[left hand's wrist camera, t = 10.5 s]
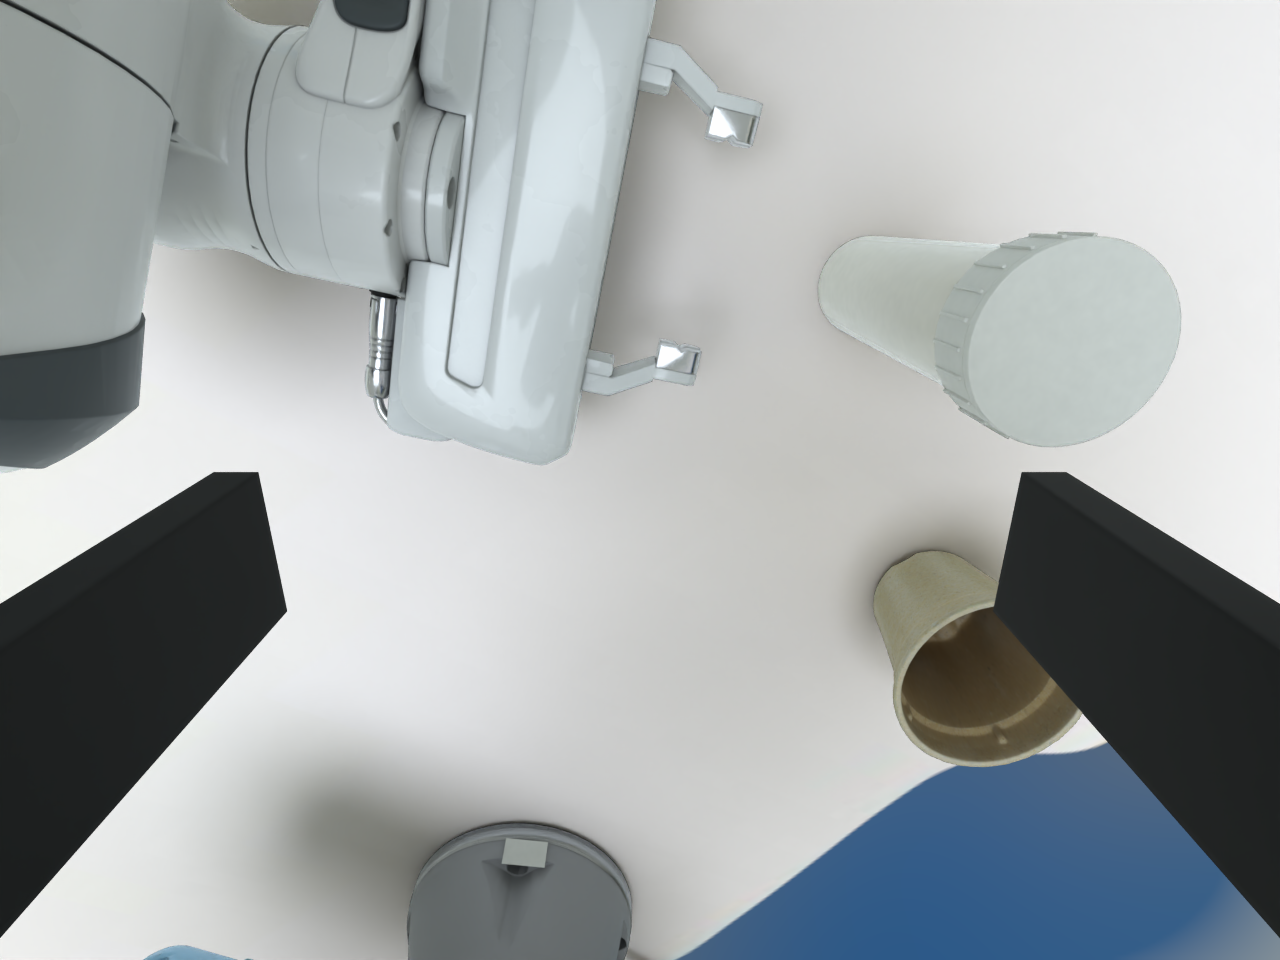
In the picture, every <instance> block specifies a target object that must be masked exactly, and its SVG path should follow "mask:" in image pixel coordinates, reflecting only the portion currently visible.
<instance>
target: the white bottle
mask: <svg viewBox="0 0 1280 960" xmlns="http://www.w3.org/2000/svg"><path fill="white" fill-rule="evenodd" d="M999 247H1000V244H986V243H972V242H957V241H943V240H929V239H915V238H900V237H886V236H863V237H859V238H856V239H853V240H850V241H849V242H847V243H845V244H843V245H842V246H841V247H839V248H838V249H837V250H836V251H835V252H834V253H833V254H832V255H831V256H830V258H829V259H828V261H827V262H826V264H825V266H824V267H823V270H822V272H821V275H820V279H819V284H818V298H819V303H820V307H821V309H822V312H823V313H824V315H825V317H826V318H827V319H828V321H829V322H830V323H831V324H832V325H833V326H834V327H836V328H837V329H839V330H841V331H843V332H844V333H846V334H848V335H850V336H852V337H854V338H855V339H857V340H859V341H861V342H863V343H865V344H866V345H868V346H870V347H872V348H874V349H876V350H878V351H879V352H881V353H883V354H885V355H887V356H889V357H890V358H892V359H894V360H896V361H898V362H900V363H902V364H903V365H905V366H907V367H909V368H911V369H913V370H914V371H916V372H918V373H920V374H922V375H924V376H925V377H927V378H929V379H931V380H933V381H935V382H937V383H938V384H940V385H942V386H943V384H942V382H941V380H940V377H939V375H938V371H937V370H936V369H935V365H936V362H935V351H934V347H935V343H934V342H933V339H935V335H936V329H937V324H938V321H939V318H940V314H939V313H940V311H942V309H943V307H944V305H945V303H946V300H947V299H948V297H949V295H950V294H951V292H952V290H953V288H954V287H953V286H954V285H955V284H957V283H958V282H959V281H960V279H961V278H962V277H963V276H964V275H965V274H966V272H967V271H968V270H969V269H970V268H971V267H972V266H973V265H975V264H974V262H975V261H979V260H981V259H982V258H983V257H985V256H986V255H988V254H989V253H991V252H992V251H993V250H995V249H997V248H999Z"/></svg>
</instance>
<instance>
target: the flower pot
mask: <svg viewBox="0 0 1280 960" xmlns="http://www.w3.org/2000/svg"><path fill="white" fill-rule="evenodd" d="M998 584H999V583H998V582H997V581H995V580H994V579H992V578H991V577H989V576H988V575H986V574H985V573H983V572H982V571H980V570H979V569H977V568H976V567H974V566H973V565H971V564H970V563H968V562H967V561H966V560H964V559H962V558H961V557H959V556H956V555H954V554H951V553H947V552H942V551H927V552H920V553H916V554H914V555H913V556H912V557H910V558H908V559H907V560H905V561H903V562H901V563H899V564H897V565H894V566H892V567H891V568H890V569H889V570H888V571H887V572H886V573H885V575H884V576H883V577H882V579H881V580H880V582H879V584H878V586H877V588H876V591H875V595H874V601H873V609H874V615H875V618H876V621H877V624H878V626H879V628H880V631H881V634H882V636H883V639H884V642H885V645H886V648H887V651H888V654H889V657H890V661H891V664H892V667H893V670H894V687H893V703H894V709H895V712H896V716H897V718H898V721H899V723H900V725H901V727H902V729H903V731H904V732H905V734H906V735H907V736H908V738H909V739H910V740H911V741H912V742H913V743H914V744H915V745H916V746H917V747H918V748H920V749H921V750H922V751H923V752H925V753H926V754H928V755H930V756H932V757H935V758H937V759H940V760H942V761H944V762H947V763H951V764H956V765H961V766H970V767H990V766H997V765H1005V764H1009V763H1012V762H1015V761H1019V760H1021V759H1025V758H1028V757H1030V756H1032V755H1034V754H1036V753H1038V752H1040V751H1042V750H1044V749H1045V748H1047V747H1048V746H1050V745H1051V744H1053V743H1054V742H1056V741H1058V740H1059V739H1060V738H1061V737H1063V735H1064V734H1066V733H1067V732H1068V731H1069V730H1070V729H1071V728H1072V727H1073V726H1074V725H1075V724H1076V722H1077V721H1078V720H1079V718H1080V717H1081V715H1082V712H1081V711H1080V710H1079V709H1078V708H1077V706H1076V705H1075V704H1074V703H1073V702H1072V701H1071V700H1070V698H1069V697H1068V696H1067V695H1066V694H1065V693H1064V692H1063V690H1062V689H1061V688H1060V687H1059V686H1058V685H1057V684H1056V683H1055V681H1054V680H1053V679H1052V678H1051V677H1050V676H1049V675H1048V673H1047V672H1046V671H1045V670H1044V669H1043V668H1042V667H1041V665H1040V664H1039V663H1038V662H1037V661H1036V660H1035V659H1034V657H1033V656H1032V655H1031V654H1030V653H1029V652H1028V651H1027V649H1026V648H1025V647H1024V646H1023V645H1022V644H1021V643H1020V642H1019V640H1018V639H1017V638H1016V637H1015V636H1014V635H1013V634H1012V632H1011V631H1010V630H1009V629H1008V628H1007V627H1006V626H1005V624H1004V623H1003V622H1002V621H1001V620H1000V619H999V618H998V616H997V615H996V614H995V613H994V612H993V608H994V603H995V598H996V594H997V589H998Z"/></svg>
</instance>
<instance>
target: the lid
mask: <svg viewBox="0 0 1280 960" xmlns="http://www.w3.org/2000/svg"><path fill="white" fill-rule="evenodd" d="M1097 234H1098V233H1084V232H1058V234H1038V233H1031V234H1029V237H1025V238H1021V239H1018V240H1015V241H1012V242H1010V243H1002V244H1000V247H999V248H997V249H995V250H993V251H992V252H991V253H989V254H988V255H986V256H985V257H983V258H982V259H981V260H979V261H975V262H974V264H975V265H973V266H972V267H971V268H970V269H969V270H968V271H967V272H966V274H965V275H964V276H963V277H962V278H961V279H960V281H959V282H958V283H957V284H955V285H954V286H953V287H954V288H953V290H952V292H951V294H950V295H949V297H948V299H947V300H946V303H945V305H944V307H943V309H942V311H940V313H939V314H940V318H939V321H938V324H937V329H936V335H935V339H933V342H934V343H935V347H934V351H935V362H936V365H935V369H936V370H937V371H938V375H939V377H940V380H941V382H942V384H943V386H944V388H945V389H944V390H943V391H944V393H946V394H948V395H949V396H950V397H951V398H952V400H953V401H954V402H955V403H956V404H957V405H958V406H959V407H960V408H959V410H960V411H961V412H963V413H965V414H966V415H968V416H970V417H971V418H973V419H975V420H976V421H978V422H979V423H981V424H983V425H984V426H986V427H988V428H989V429H991V430H993V431H995V432H996V433H998V434H1000V435H1001V436H1003V437H1005V438H1007V439H1009V437H1010V438H1012V439H1014V440H1016V441H1019V442H1022V443H1025V444H1029V445H1034V446H1040V447H1062V446H1070V445H1075V444H1079V443H1083V442H1086V441H1089V440H1092V439H1095V438H1097V437H1099V436H1102V435H1104V434H1106V433H1108V432H1110V431H1111V430H1113V429H1115V428H1116V427H1118V426H1120V425H1121V424H1123V423H1124V422H1125V421H1127V420H1128V419H1129V418H1131V417H1132V416H1133V415H1134V414H1135V413H1136V412H1138V411H1139V410H1140V409H1141V408H1142V407H1143V406H1144V405H1145V404H1146V403H1147V401H1148V400H1149V399H1150V398H1151V397H1152V396H1153V394H1154V393H1155V392H1156V390H1157V389H1158V388H1159V386H1160V385H1161V383H1162V382H1163V380H1164V378H1165V376H1166V374H1167V373H1168V371H1169V369H1170V366H1171V364H1172V362H1173V359H1174V357H1175V353H1176V350H1177V347H1178V343H1179V337H1180V331H1181V310H1180V302H1179V298H1178V294H1177V290H1176V288H1175V286H1174V284H1173V281H1172V279H1171V277H1170V276H1169V274H1168V273H1167V271H1166V270H1165V268H1164V267H1163V266H1162V265H1161V264H1160V262H1159V261H1158V260H1157V259H1156V258H1155V257H1154V256H1152V255H1151V254H1150V253H1148V252H1147V251H1146V250H1144V249H1142V248H1141V247H1139V246H1137V245H1135V244H1133V243H1130V242H1127V241H1124V240H1121V239H1116V238H1111V237H1098V236H1097Z"/></svg>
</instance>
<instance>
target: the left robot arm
mask: <svg viewBox="0 0 1280 960" xmlns="http://www.w3.org/2000/svg"><path fill="white" fill-rule="evenodd" d="M286 612H287V608H286V603H285V598H284V594H283V589H282V584H281V579H280V574H279V570H278V565H277V560H276V555H275V550H274V545H273V541H272V536H271V531H270V526H269V521H268V517H267V512H266V507H265V502H264V497H263V493H262V488H261V483H260V478H259V473H258V472H213V473H212V474H210V475H208V476H207V477H205V478H204V479H202V480H200V481H199V482H197V483H195V484H194V485H192V486H191V487H189V488H187V489H186V490H184V491H182V492H181V493H179V494H178V495H176V496H174V497H173V498H171V499H169V500H168V501H166V502H165V503H163V504H161V505H160V506H158V507H157V508H155V509H153V510H152V511H150V512H148V513H147V514H145V515H144V516H142V517H140V518H139V519H137V520H135V521H134V522H132V523H131V524H129V525H127V526H126V527H124V528H122V529H121V530H119V531H118V532H116V533H114V534H113V535H111V536H109V537H108V538H106V539H105V540H103V541H101V542H100V543H98V544H97V545H95V546H93V547H92V548H90V549H88V550H87V551H85V552H84V553H82V554H80V555H79V556H77V557H75V558H74V559H72V560H71V561H69V562H67V563H66V564H64V565H62V566H61V567H59V568H58V569H56V570H54V571H53V572H51V573H49V574H48V575H46V576H45V577H43V578H41V579H40V580H38V581H37V582H35V583H33V584H32V585H30V586H28V587H27V588H25V589H24V590H22V591H20V592H19V593H17V594H15V595H14V596H12V597H11V598H9V599H7V600H6V601H4V602H2V603H1V604H0V938H1V936H2V935H3V934H4V933H5V932H6V931H7V930H8V928H9V927H10V926H11V925H12V924H13V923H14V922H15V921H16V919H17V918H18V917H19V916H20V915H21V914H22V913H23V911H24V910H25V909H26V908H27V907H28V906H29V905H30V903H31V902H32V901H33V900H34V899H35V898H36V897H37V895H38V894H39V893H40V892H41V891H42V890H43V889H44V887H45V886H46V885H47V884H48V883H49V882H50V881H51V880H52V878H53V877H54V876H55V875H56V874H57V873H58V872H59V870H60V869H61V868H62V867H63V866H64V865H65V864H66V862H67V861H68V860H69V859H70V858H71V857H72V856H73V854H74V853H75V852H76V851H77V850H78V849H79V848H80V846H81V845H82V844H83V843H84V842H85V841H86V840H87V839H88V837H89V836H90V835H91V834H92V833H93V832H94V831H95V829H96V828H97V827H98V826H99V825H100V824H101V823H102V821H103V820H104V819H105V818H106V817H107V816H108V815H109V813H110V812H111V811H112V810H113V809H114V808H115V807H116V806H117V804H118V803H119V802H120V801H121V800H122V799H123V798H124V796H125V795H126V794H127V793H128V792H129V791H130V790H131V788H132V787H133V786H134V785H135V784H136V783H137V782H138V780H139V779H140V778H141V777H142V776H143V775H144V774H145V772H146V771H147V770H148V769H149V768H150V767H151V766H152V765H153V763H154V762H155V761H156V760H157V759H158V758H159V757H160V755H161V754H162V753H163V752H164V751H165V750H166V749H167V747H168V746H169V745H170V744H171V743H172V742H173V741H174V739H175V738H176V737H177V736H178V735H179V734H180V733H181V731H182V730H183V729H184V728H185V727H186V726H187V725H188V724H189V722H190V721H191V720H192V719H193V718H194V717H195V716H196V714H197V713H198V712H199V711H200V710H201V709H202V708H203V706H204V705H205V704H206V703H207V702H208V701H209V700H210V698H211V697H212V696H213V695H214V694H215V693H216V692H217V690H218V689H219V688H220V687H221V686H222V685H223V684H224V683H225V681H226V680H227V679H228V678H229V677H230V676H231V675H232V673H233V672H234V671H235V670H236V669H237V668H238V667H239V665H240V664H241V663H242V662H243V661H244V660H245V659H246V657H247V656H248V655H249V654H250V653H251V652H252V651H253V649H254V648H255V647H256V646H257V645H258V644H259V643H260V642H261V640H262V639H263V638H264V637H265V636H266V635H267V634H268V632H269V631H270V630H271V629H272V628H273V627H274V626H275V624H276V623H277V622H278V621H279V620H280V619H281V618H282V616H283V615H284V614H285V613H286ZM993 612H994V613H995V614H996V615H997V616H998V618H999V619H1000V620H1001V621H1002V622H1003V623H1004V624H1005V626H1006V627H1007V628H1008V629H1009V630H1010V631H1011V632H1012V634H1013V635H1014V636H1015V637H1016V638H1017V639H1018V640H1019V642H1020V643H1021V644H1022V645H1023V646H1024V647H1025V648H1026V649H1027V651H1028V652H1029V653H1030V654H1031V655H1032V656H1033V657H1034V659H1035V660H1036V661H1037V662H1038V663H1039V664H1040V665H1041V667H1042V668H1043V669H1044V670H1045V671H1046V672H1047V673H1048V675H1049V676H1050V677H1051V678H1052V679H1053V680H1054V681H1055V683H1056V684H1057V685H1058V686H1059V687H1060V688H1061V689H1062V690H1063V692H1064V693H1065V694H1066V695H1067V696H1068V697H1069V698H1070V700H1071V701H1072V702H1073V703H1074V704H1075V705H1076V706H1077V708H1078V709H1079V710H1080V711H1081V712H1082V713H1083V714H1084V716H1085V717H1086V718H1087V719H1088V720H1089V721H1090V722H1091V724H1092V725H1093V726H1094V727H1095V728H1096V729H1097V730H1098V731H1099V733H1100V734H1101V735H1102V736H1103V737H1104V738H1105V739H1106V741H1107V742H1108V743H1109V744H1110V745H1111V746H1112V747H1113V749H1114V750H1115V751H1116V752H1117V753H1118V754H1119V755H1120V757H1121V758H1122V759H1123V760H1124V761H1125V762H1126V763H1127V765H1128V766H1129V767H1130V768H1131V769H1132V770H1133V771H1134V772H1135V774H1136V775H1137V776H1138V777H1139V778H1140V779H1141V780H1142V782H1143V783H1144V784H1145V785H1146V786H1147V787H1148V788H1149V790H1150V791H1151V792H1152V793H1153V794H1154V795H1155V796H1156V798H1157V799H1158V800H1159V801H1160V802H1161V803H1162V804H1163V806H1164V807H1165V808H1166V809H1167V810H1168V811H1169V812H1170V813H1171V815H1172V816H1173V817H1174V818H1175V819H1176V820H1177V821H1178V823H1179V824H1180V825H1181V826H1182V827H1183V828H1184V829H1185V831H1186V832H1187V833H1188V834H1189V835H1190V836H1191V837H1192V839H1193V840H1194V841H1195V842H1196V843H1197V844H1198V845H1199V846H1200V848H1201V849H1202V850H1203V851H1204V852H1205V853H1206V854H1207V856H1208V857H1209V858H1210V859H1211V860H1212V861H1213V862H1214V864H1215V865H1216V866H1217V867H1218V868H1219V869H1220V870H1221V872H1222V873H1223V874H1224V875H1225V876H1226V877H1227V878H1228V880H1229V881H1230V882H1231V883H1232V884H1233V885H1234V886H1235V887H1236V889H1237V890H1238V891H1239V892H1240V893H1241V894H1242V895H1243V897H1244V898H1245V899H1246V900H1247V901H1248V902H1249V903H1250V905H1251V906H1252V907H1253V908H1254V909H1255V910H1256V911H1257V913H1258V914H1259V915H1260V916H1261V917H1262V918H1263V919H1264V921H1265V922H1266V923H1267V924H1268V925H1269V926H1270V927H1271V928H1272V930H1273V931H1274V932H1275V933H1276V934H1277V935H1278V936H1279V938H1280V604H1279V603H1278V602H1276V601H1274V600H1273V599H1271V598H1269V597H1268V596H1266V595H1265V594H1263V593H1261V592H1260V591H1258V590H1256V589H1255V588H1253V587H1252V586H1250V585H1248V584H1247V583H1245V582H1243V581H1242V580H1240V579H1239V578H1237V577H1235V576H1234V575H1232V574H1231V573H1229V572H1227V571H1226V570H1224V569H1222V568H1221V567H1219V566H1218V565H1216V564H1214V563H1213V562H1211V561H1209V560H1208V559H1206V558H1205V557H1203V556H1201V555H1200V554H1198V553H1196V552H1195V551H1193V550H1192V549H1190V548H1188V547H1187V546H1185V545H1183V544H1182V543H1180V542H1179V541H1177V540H1175V539H1174V538H1172V537H1171V536H1169V535H1167V534H1166V533H1164V532H1162V531H1161V530H1159V529H1158V528H1156V527H1154V526H1153V525H1151V524H1149V523H1148V522H1146V521H1145V520H1143V519H1141V518H1140V517H1138V516H1136V515H1135V514H1133V513H1132V512H1130V511H1128V510H1127V509H1125V508H1123V507H1122V506H1120V505H1119V504H1117V503H1115V502H1114V501H1112V500H1111V499H1109V498H1107V497H1106V496H1104V495H1102V494H1101V493H1099V492H1098V491H1096V490H1094V489H1093V488H1091V487H1089V486H1088V485H1086V484H1085V483H1083V482H1081V481H1080V480H1078V479H1076V478H1075V477H1073V476H1072V475H1070V474H1068V473H1067V472H1022V473H1021V478H1020V483H1019V488H1018V493H1017V497H1016V502H1015V507H1014V512H1013V517H1012V521H1011V526H1010V531H1009V536H1008V541H1007V545H1006V550H1005V555H1004V560H1003V565H1002V570H1001V574H1000V579H999V584H998V589H997V594H996V598H995V603H994V608H993ZM631 907H632V903H631V895H630V891H629V887H628V885H627V882H626V880H625V878H624V876H623V874H622V873H621V871H620V870H619V868H618V867H617V866H616V864H615V863H614V862H613V861H612V860H611V859H610V858H609V857H608V856H607V855H606V854H605V853H604V852H603V851H601V850H600V849H599V848H597V847H596V846H594V845H593V844H591V843H590V842H588V841H586V840H584V839H582V838H580V837H578V836H576V835H574V834H571V833H569V832H566V831H563V830H560V829H556V828H552V827H548V826H542V825H535V824H515V823H512V824H500V825H493V826H488V827H484V828H480V829H476V830H473V831H470V832H468V833H465V834H463V835H461V836H459V837H457V838H455V839H453V840H451V841H450V842H448V843H447V844H445V845H444V846H442V847H441V848H440V849H439V850H438V851H436V852H435V853H434V854H433V855H432V856H431V857H430V859H429V860H428V861H427V863H426V864H425V865H424V867H423V869H422V870H421V872H420V874H419V877H418V879H417V882H416V885H415V888H414V891H413V894H412V898H411V901H410V907H409V912H408V919H407V935H408V945H409V951H408V960H624V959H625V956H626V953H627V949H628V945H629V940H630V933H631ZM144 960H236V959H233V958H229V957H226V956H222V955H219V954H215V953H212V952H208V951H205V950H201V949H198V948H194V947H191V946H184V945H183V946H172V947H168V948H164V949H162V950H159V951H157V952H155V953H153V954H151V955H149V956H148V957H147V958H145V959H144ZM245 960H252V959H245Z"/></svg>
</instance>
